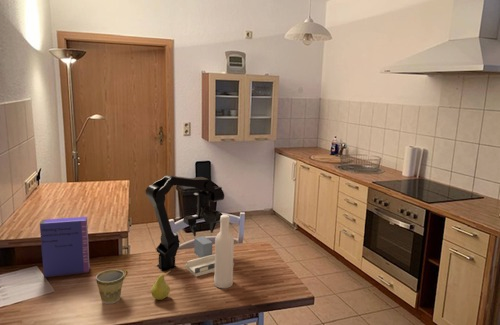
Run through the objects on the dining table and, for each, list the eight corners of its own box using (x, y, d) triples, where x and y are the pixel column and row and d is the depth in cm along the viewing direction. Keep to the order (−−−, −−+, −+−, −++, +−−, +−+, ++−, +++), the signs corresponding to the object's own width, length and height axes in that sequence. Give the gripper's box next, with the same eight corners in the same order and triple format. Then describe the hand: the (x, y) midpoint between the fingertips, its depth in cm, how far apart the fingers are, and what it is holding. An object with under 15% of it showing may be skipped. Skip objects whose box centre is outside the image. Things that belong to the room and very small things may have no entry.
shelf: (195, 276, 162) (195, 269, 161) (185, 267, 170) (185, 260, 169) (234, 265, 174) (234, 258, 173) (222, 257, 182) (222, 250, 181)
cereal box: (89, 267, 167) (87, 216, 163) (88, 272, 163) (86, 219, 158) (46, 272, 162) (42, 219, 157) (43, 277, 157) (39, 223, 153)
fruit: (154, 293, 148) (153, 265, 146) (173, 294, 148) (173, 266, 146) (149, 302, 142) (148, 273, 139) (169, 303, 141) (168, 274, 139)
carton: (203, 260, 178) (203, 244, 177) (194, 253, 185) (194, 238, 184) (212, 257, 181) (212, 242, 180) (203, 250, 188) (203, 235, 187)
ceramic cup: (108, 310, 136) (107, 284, 134) (91, 301, 141) (90, 276, 139) (136, 294, 147) (135, 270, 145) (119, 286, 152) (118, 263, 150)
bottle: (236, 281, 159) (238, 214, 153) (227, 290, 152) (229, 220, 146) (219, 277, 162) (221, 211, 156) (210, 285, 155) (211, 217, 149)
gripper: (194, 211, 166) (193, 244, 169) (229, 205, 177) (228, 236, 180) (182, 204, 175) (182, 236, 178) (217, 199, 186) (216, 229, 189)
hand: (203, 234), depth 181 cm, fingers open, 9 cm apart
